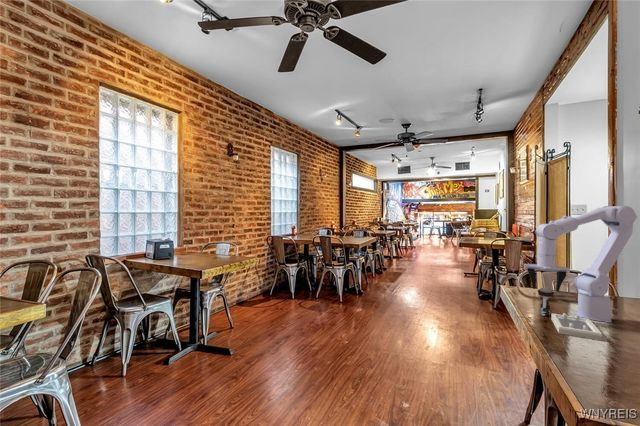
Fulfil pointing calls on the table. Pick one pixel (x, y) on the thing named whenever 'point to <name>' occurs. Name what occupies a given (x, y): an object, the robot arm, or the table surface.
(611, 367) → the table surface
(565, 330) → the pin tray
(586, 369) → the table surface
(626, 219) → the robot arm
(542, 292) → the push button
